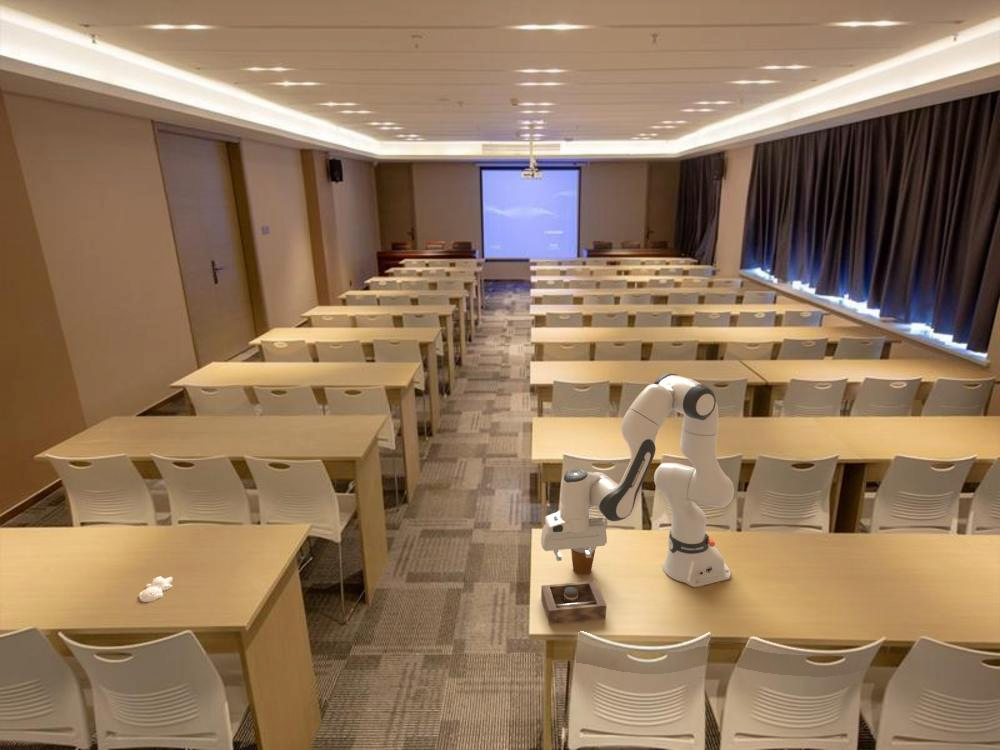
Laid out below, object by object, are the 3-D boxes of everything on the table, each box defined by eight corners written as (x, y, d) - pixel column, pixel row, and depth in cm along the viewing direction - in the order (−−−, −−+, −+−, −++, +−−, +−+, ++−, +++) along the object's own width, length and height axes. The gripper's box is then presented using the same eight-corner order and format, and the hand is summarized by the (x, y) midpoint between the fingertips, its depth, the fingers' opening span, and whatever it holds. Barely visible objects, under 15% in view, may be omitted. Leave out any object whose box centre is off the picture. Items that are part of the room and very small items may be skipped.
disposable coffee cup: (595, 579, 206) (596, 549, 202) (567, 576, 208) (568, 546, 204) (596, 563, 215) (598, 533, 211) (569, 560, 217) (570, 530, 213)
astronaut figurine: (180, 580, 208) (178, 573, 207) (155, 604, 197) (153, 596, 196) (157, 578, 209) (155, 570, 208) (131, 601, 198) (129, 593, 197)
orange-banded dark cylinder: (579, 608, 193) (579, 595, 191) (565, 609, 192) (565, 596, 191) (575, 598, 197) (576, 586, 195) (562, 600, 197) (562, 587, 195)
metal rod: (597, 602, 191) (597, 600, 190) (598, 604, 190) (598, 602, 190) (550, 607, 189) (551, 604, 189) (551, 609, 188) (551, 606, 188)
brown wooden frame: (595, 593, 199) (595, 580, 198) (605, 618, 188) (606, 605, 187) (541, 598, 197) (541, 585, 196) (548, 624, 186) (548, 610, 184)
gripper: (604, 511, 189) (603, 549, 193) (540, 517, 186) (539, 555, 191) (610, 522, 183) (608, 561, 187) (543, 528, 181) (543, 567, 185)
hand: (573, 558), depth 189 cm, fingers open, 8 cm apart
